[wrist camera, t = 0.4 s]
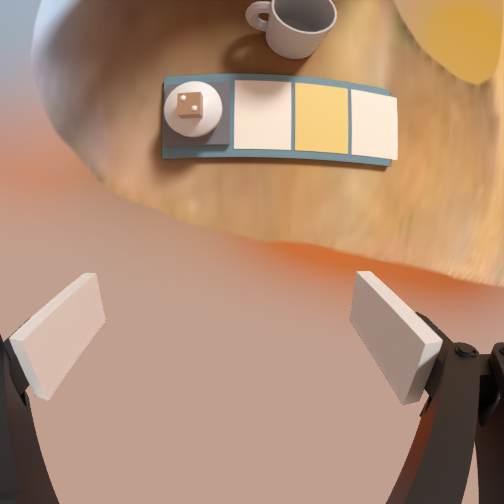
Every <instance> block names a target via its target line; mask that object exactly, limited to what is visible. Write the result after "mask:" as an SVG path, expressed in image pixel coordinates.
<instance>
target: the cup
mask: <svg viewBox="0 0 504 504" xmlns="http://www.w3.org/2000/svg"><path fill="white" fill-rule="evenodd" d="M260 13H268V14H269V17H268V21H265V20H262V19H260V18H259V14H260ZM245 16H246V20H247V22H248V24H249V25H250V26H252V27H253V28H255V29H258V30H261V31H265V32H266V41H267V43H268V45H269V47H270V48H271V49H272V50H273V51H274V52H275V53H277V54H278V55H280V56H282V57H285V58H289V59H302V58H305V57H308V56H310V55H311V54H313V53H314V52H315V50H316V49H317V48H318V47H319V45H320V44H321V42H322V41H323V39H324V38H325V37H326V35H327V34H328V32H329V31H330V30H331V28H332V27H333V25H334V24H335V22H336V19H337V11H336V8H335V5H334V4H333V2H332V1H331V0H272V2H268V1H258V2H254V3H253V4H251V5H250V6H249V7H248V8H247V10H246V12H245Z"/></svg>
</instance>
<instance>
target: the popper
mask: <svg viewBox="0 0 504 504" xmlns="http://www.w3.org/2000/svg"><path fill="white" fill-rule="evenodd" d="M222 111H223V109H222V103H221V99H220V96H219V94H218V93H217V91H216V90H215V89H214V88H213V87H212V86H210V85H208V84H206V83H203V82H199V81H192V82H187V83H184V84H181V85H179V86H178V87H176V88H175V89H174V90H173V91H172V92H171V93H170V94H169V96H168V98H167V100H166V102H165V106H164V115H165V119H166V121H167V123H168V125H169V126H170V127H171V128H172V129H173V130H174V131H176V132H178V133H179V134H181V135H184V136H187V137H200V136H203V135H206V134H208V133H209V132H211V131H212V130H213V129H214V128H215V127H216V126H217V125H218V123H219V122H220V120H221V117H222Z"/></svg>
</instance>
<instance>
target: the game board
mask: <svg viewBox="0 0 504 504" xmlns="http://www.w3.org/2000/svg"><path fill="white" fill-rule="evenodd" d="M192 81H199V82H203V83H206V84H208V85H210V86H212V87H213V88H214V89H215V90H216V91H217V93H218V94H219V96H220V99H221V103H222V109H223V111H222V117H221V120H220V122H219V123H218V125H217V126H216V127H215V128H214V129H213V130H212V131H211V132H209V133H208V134H206V135H203V136H200V137H187V136H184V135H181V134H179V133H178V132H176V131H174V130H173V129H172V128H171V127H170V126H169V125H168V123H167V121H166V119H165V115H164V106H165V102H166V100H167V98H168V96H169V94H170V93H171V92H172V91H173V90H174V89H175V88H176V87H178V86H179V85H181V84H184V83H187V82H192ZM397 150H398V126H397V98H394V97H390V90H386V89H382V88H377V87H372V86H367V85H361V84H356V83H350V82H343V81H336V80H329V79H321V78H312V77H302V76H290V75H275V74H199V75H184V76H172V77H165V79H164V97H163V125H162V159H175V158H202V157H269V158H296V159H315V160H329V161H342V162H353V163H363V164H373V165H382V166H391V159H393V160H397Z"/></svg>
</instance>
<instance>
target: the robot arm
mask: <svg viewBox="0 0 504 504" xmlns="http://www.w3.org/2000/svg"><path fill="white" fill-rule="evenodd" d="M105 321H106V320H105V316H104V311H103V306H102V302H101V297H100V292H99V286H98V281H97V275H96V273H84V274H82V275H81V276H80V277H79V278H77V279H76V280H75V281H74V282H72V283H71V284H70V285H69V286H67V287H66V288H65V289H64V290H63V291H62V292H60V293H59V294H58V295H57V296H55V297H54V298H53V299H52V300H51V301H50V302H48V303H47V304H46V305H45V306H44V307H43V308H41V309H40V310H39V311H38V312H37V313H36V314H35V315H34V316H32V317H31V318H29V319H28V320H27V321H26V322H25V323H24V324H23V325H22V326H21V327H19V329H17V330H16V331H15V332H14V333H13V334H12V335H11V336H10V337H9V338H8V339H6V340H5V341H4V342H3V340H2V337H1V335H0V504H59V502H58V499H57V497H56V494H55V492H54V489H53V486H52V484H51V481H50V478H49V475H48V472H47V470H46V466H45V463H44V460H43V457H42V453H41V450H40V446H39V442H38V439H37V435H36V431H35V427H34V423H33V418H32V413H31V408H30V402H29V397H28V395H27V393H26V391H25V390H26V389H27V387H28V386H30V388H31V389H32V392H33V394H34V396H35V397H39V398H42V399H45V400H49V399H50V398H51V396H52V395H53V393H54V392H55V390H56V389H57V387H58V386H59V384H60V383H61V381H62V380H63V378H64V377H65V376H66V374H67V373H68V371H69V370H70V368H71V367H72V366H73V364H74V363H75V361H76V360H77V358H78V357H79V356H80V354H81V353H82V351H83V350H84V349H85V347H86V346H87V345H88V343H89V342H90V341H91V339H92V338H93V337H94V335H95V334H96V333H97V331H98V330H99V329H100V327H101V326H102V325H103V323H104V322H105ZM350 322H351V323H352V325H353V326H354V328H355V329H356V331H357V333H358V334H359V336H360V337H361V339H362V340H363V342H364V343H365V345H366V347H367V348H368V350H369V351H370V353H371V354H372V356H373V358H374V359H375V361H376V362H377V364H378V366H379V367H380V369H381V371H382V372H383V374H384V375H385V377H386V379H387V380H388V382H389V384H390V385H391V387H392V389H393V390H394V392H395V394H396V395H397V397H398V398H399V400H400V401H401V404H402V405H406V404H410V403H414V402H418V401H419V400H420V398H421V396H422V394H423V391H424V389H425V390H426V391H427V393H428V394H429V397H428V399H427V401H426V403H425V406H424V408H423V410H422V412H421V414H420V416H421V420H420V424H419V426H418V429H417V432H416V435H415V438H414V440H413V443H412V446H411V448H410V451H409V454H408V456H407V459H406V461H405V464H404V466H403V468H402V471H401V473H400V475H399V477H398V480H397V482H396V484H395V486H394V488H393V490H392V492H391V494H390V496H389V498H388V501H387V502H386V504H461V502H462V499H463V495H464V491H465V488H466V483H467V479H468V474H469V470H470V465H471V460H472V453H473V448H474V441H475V447H476V455H477V467H478V486H479V504H504V343H503V342H501V343H496V344H495V345H494V347H493V350H492V352H491V354H479V352H478V351H477V350H476V349H475V348H474V347H472V346H471V345H469V344H466V343H460V342H458V343H453V342H452V341H451V340H450V339H449V338H448V337H447V336H446V335H445V334H444V333H443V332H442V331H441V330H439V329H438V328H437V327H436V326H435V325H434V324H433V323H432V322H431V321H430V320H429V319H428V318H427V317H425V316H424V315H422V314H420V313H418V312H413V311H412V310H411V309H410V308H409V307H408V306H407V305H406V304H405V303H404V302H403V301H402V300H401V299H400V298H399V297H398V296H397V295H395V294H394V293H393V292H392V291H391V290H390V289H389V288H388V287H387V286H386V285H385V284H384V283H383V282H381V281H380V280H379V279H378V278H377V277H376V276H375V275H374V274H373V273H371V272H370V271H362V272H361V271H358V272H356V279H355V286H354V294H353V300H352V307H351V314H350ZM499 398H500V399H499Z"/></svg>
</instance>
